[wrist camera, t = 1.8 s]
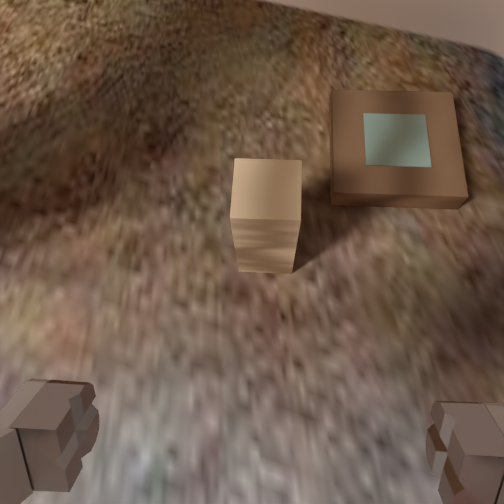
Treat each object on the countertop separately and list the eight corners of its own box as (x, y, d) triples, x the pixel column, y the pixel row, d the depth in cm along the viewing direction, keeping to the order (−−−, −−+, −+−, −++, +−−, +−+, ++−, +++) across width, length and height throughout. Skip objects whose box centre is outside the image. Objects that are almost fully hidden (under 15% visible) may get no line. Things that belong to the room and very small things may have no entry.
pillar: (238, 271, 33) (230, 217, 24) (242, 224, 34) (234, 158, 26) (291, 273, 32) (300, 220, 24) (292, 225, 34) (301, 160, 26)
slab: (329, 207, 35) (334, 191, 33) (328, 109, 39) (332, 88, 36) (454, 212, 35) (468, 196, 32) (441, 112, 38) (452, 91, 36)
